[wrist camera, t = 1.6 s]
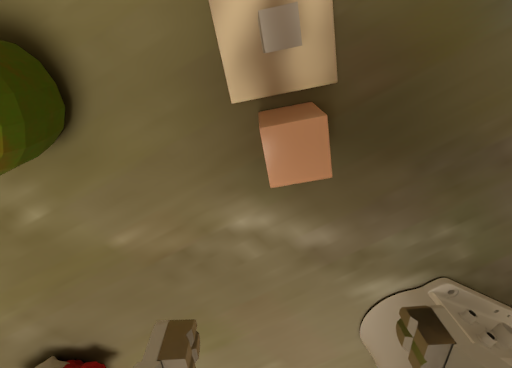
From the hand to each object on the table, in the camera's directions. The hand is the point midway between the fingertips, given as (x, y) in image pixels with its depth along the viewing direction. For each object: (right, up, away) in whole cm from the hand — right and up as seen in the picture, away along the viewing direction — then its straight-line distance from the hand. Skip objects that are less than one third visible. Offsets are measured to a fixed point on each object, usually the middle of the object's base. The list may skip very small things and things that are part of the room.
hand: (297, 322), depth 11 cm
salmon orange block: (+2, +11, +17) cm, 20 cm away
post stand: (0, +19, +13) cm, 23 cm away
